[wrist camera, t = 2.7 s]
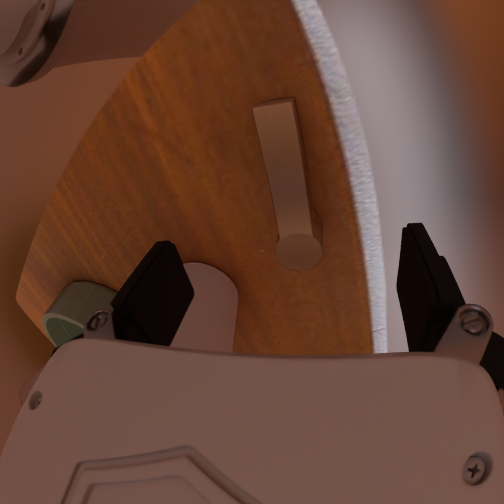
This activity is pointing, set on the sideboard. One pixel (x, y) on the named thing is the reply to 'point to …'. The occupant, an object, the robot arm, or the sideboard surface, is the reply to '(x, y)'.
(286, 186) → the round-ended wooden block
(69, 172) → the sideboard surface
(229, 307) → the cup
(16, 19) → the robot arm
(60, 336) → the bowl
